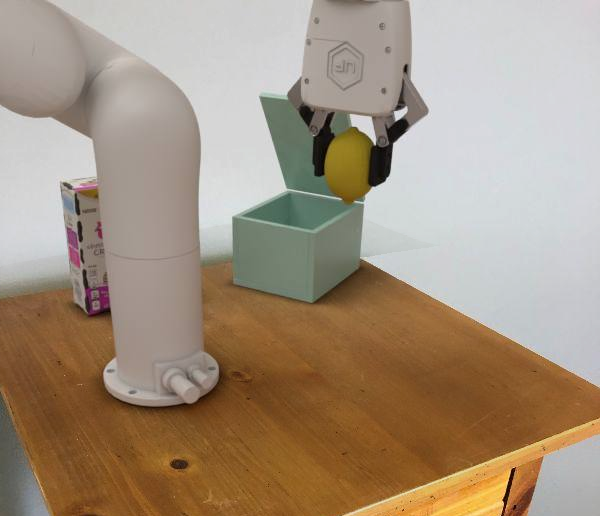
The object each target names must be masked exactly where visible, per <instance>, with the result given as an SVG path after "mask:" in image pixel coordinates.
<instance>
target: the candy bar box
mask: <svg viewBox="0 0 600 516" xmlns="http://www.w3.org/2000/svg"><path fill="white" fill-rule="evenodd" d="M59 187H60V194H61V195H60V197H61V202H62V203H61V204H62V211H63V220H64V222H63V223H64V228H65V238H66V244H67V255H68V263H69V270H70V271H69V272H70V280H71V281H70V282H71V287H72V289H71V290H72V297H73V303H74V305H75V306H77V307H78V308H79V309H80V310H82V312H84V313H85V314H86V315H87V316H91V315H97V314H99V313H104V312H109V311H111V307H110V297H109V288H108V279H107V270H106V261H105V250H104V246H103V236H102V227H101V217H100V206H99V195H98V183H97V176H91V177H83V178H75V179H66V180H59Z"/></svg>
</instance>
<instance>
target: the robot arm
mask: <svg viewBox="0 0 600 516" xmlns="http://www.w3.org/2000/svg"><path fill="white" fill-rule="evenodd" d="M410 6H411V5H410V0H312V4H311V8H310V13H309V18H308V23H307V27H306V34H305V40H304V48H303V57H302V67H301V76H300V77H299V78H298V79H297V81H296V82H295V83H294V84H293V85H292V86H291V88H290V89H289V90H288V91H287V93H286V95H287V97H288V99H289V100H290V102H291V103H292V104H293V106H294V107H295V108H296V110H298V111H299V114H300V116H301V118H302V119H303V121H304V122H305V123H306V125H307V126H308V128H309V133H310V135H311V136H313V156H312V163H313V165H314V176H317V177H321V176H323V175H325V171H324V165H325V157H326V153H327V150H328V147H329V145H330V143H331V142H332V140H333V139H334V138H335V135H334V133H331V127H332V124H333V122H334V119H335V116H336V114H337V112H340V113H347V114H350V115H356V116H362V117H371V121H372V126H373V130H374V135H375V144H374V146H372V147H371V153H370V165H369V177H368V184H369V185H370V186H372V188H376V187H378V186H380V185H382V184H383V183H386V180H388V178H389V177H390V176H391V171H392V161H393V150H394V143H397V142H398V141H399V139H400V138H401V137H402V136H404V135H405V134H406V133H407V132H408V131H409V130H411V128H412V127H414V126H416V124H418V123H419V122H420V121H422V120H423V119H424V118H426V117H427V116H428V114H429V112H430V111H429V107H428V105H427V103H426V102H425V100H424V99H423V97H422V96H421V95H420V92H419V91H418V89H417V88H416V86H415V84H414V83H413V81H412V80H411V79H412V57H413V55H412V54H413V36H412V35H413V34H412V33H413V32H412V16H411V7H410ZM0 106H2V107H3V108H5V109H6V110H8V111H10V112H12V113H15V114H17V115H20V116H22V117H28V118H32V119H46V118H52V119H53V120H55V121H57V122H59V123H60V124H62V125H64V126H65V127H68V128H70V129H72V130H74V131H76V132H77V133H80V134H81V135H83V136H85V137H87V138H89V139H90V140H91V141H92V146H93V154H94V160H95V161H94V162H95V168H96V177H97V183H98V195H99V206H100V217H101V227H102V236H103V246H104V250H105V261H106V270H107V279H108V288H109V297H110V307H111V310H110V315H111V324H112V332H113V333H112V334H113V343H114V352H115V357H114V358H112V359H111V360H110V361H109V362H108V363H107V364H106V365H105V367H104V370H103V374H102V375H103V376H102V377H103V384H104V387H105V389H106V390H107V392H108V393H109V394H110V395H111V396H113V397H114V398H116V399H118V400H120V401H122V402H125V403H128V404H131V405H135V406H140V407H152V408H153V407H154V408H156V407H171V406H177V405H182V404H189V405H190V404H194V403H196V402H197V401H199V400H198V399H200V398H202V397H203V396H205V395H207V394H208V393H210V392H211V391H212V390H213V389H214V388H215V387H216V386H217V384H218V382H219V379H220V367H219V363H218V362H217V360H216V359H215V358H214V357H213V356H212V355H210V354H209V353H208V352H206V351H205V336H204V335H205V334H204V309H203V308H204V307H203V306H204V305H203V283H202V258H201V256H202V255H201V241H200V239H201V238H200V209H199V206H200V205H199V203H200V202H199V201H200V199H199V198H200V195H199V194H200V175H201V173H200V172H201V161H202V160H201V159H202V143H201V142H202V141H201V139H202V138H201V132H200V125H199V121H198V117H197V115H196V112H195V109H194V107H193V104H192V103H191V102H190V100H189V98H188V97H187V95H186V94H185V92H184V91H183V90H182V89H181V88H180V86H178V85H177V84H176V83H175V82H174V81H173V80H172V79H171V78H169V77H168V76H167V75H166V74H164V73H163V72H162V71H160V69H158V68H157V67H155V66H154V65H153V64H151V63H150V62H148V61H146V60H145V59H143V58H141V57H140V56H138V55H136V54H135V53H133V52H131V51H130V50H128V49H127V48H125V47H123V46H122V45H120V44H119V43H117V42H116V41H113V40H112V39H110V38H109V37H107V36H105V35H104V34H103V33H101V32H99V31H98V30H96V29H94V28H93V27H91V26H90V25H88V24H87V23H85V22H83V21H81V20H80V19H78V18H77V17H75V16H73V15H72V14H70V13H69V12H68V11H66V10H64V9H62V8H61V7H60V6H57V5H56V4H55V3H53V2H50V1H49V0H0ZM405 108H407V112H406V113H405V114H403V116H401V117H400V118H398V120H396V116H395V112H399V111H401V110H404V109H405Z"/></svg>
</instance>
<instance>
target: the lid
mask: <svg viewBox="0 0 600 516" xmlns="http://www.w3.org/2000/svg"><path fill="white" fill-rule="evenodd" d="M258 97H259V101H260V104H261V108H262V111H263V114H264V118H265V121H266V125H267V127H268V131H269V135H270V138H271V141H272V145H273V147H274V151H275V154H276V157H277V161H278V165H279V168H280V172H281V175H282V178H283V181H284V185H285V188H286V190H290V191H295V192H301V193H307V194H312V195H318V196H323V197H329V198H335V199H340V198H339V197H337V196H336V195H334V194H333V193H332V192H331V190H330V189H329V187H328V185H327V183H326V179H325V175H323V176H321V177H317V176H314V165H313V163H312V156H313V136H311V135H310V133H309V128H308V126H307V125H306V123H305V122H304V121H303V119H302V118H301V116H300V114H299V111H298V110H296V108H295V107H294V106H293V104H292V103H291V102H290V100H289V99H288V97H287V94H278V93H271V92H264V91H263V92H260V94H259V95H258ZM350 127H353V125H352V119H351V114H347V113H340V112H337V114H336V116H335V119H334V122H333V124H332V127H331V133H334V135H335V137H336V136H337V135H338V134H340V133H341V132H344V131H346V130H348V129H349V128H350ZM365 200H366V195H365V196H363V197H362V198H359V199H357V200H355V201H354V202H357V203H364V202H365Z"/></svg>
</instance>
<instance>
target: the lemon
mask: <svg viewBox="0 0 600 516" xmlns="http://www.w3.org/2000/svg"><path fill="white" fill-rule="evenodd" d="M374 145H375V143H374V141H373V139H371V137H370V136H369V135H368V134H366V133H365V132H363V131H361V130H360V129H359V128H358V126H352V127H350V128H349V129H348V130H346V131H344V132H341V133H340V134H338V135H337V136H336V137H335V138H334V139H333V140H332V142H331V143H330V145H329V147H328V150H327V153H326V157H325V165H324V171H325V179H326V183H327V185H328V187H329V189H330V190H331V192H332V193H333V194H334V195H336V196H337V197H339V198H338V199H340V200H343V202H344V203H345V204H346V205H351V204H352V203H353V202H356V201H355V200H357V199H359V198H362V197H363V196H365V197H366V195H367V194H368V193H369V192H370V191H371V190H372V189H373V187H372V186H370V185H369V184H368V177H369V165H370V153H371V147H372V146H374Z"/></svg>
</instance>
